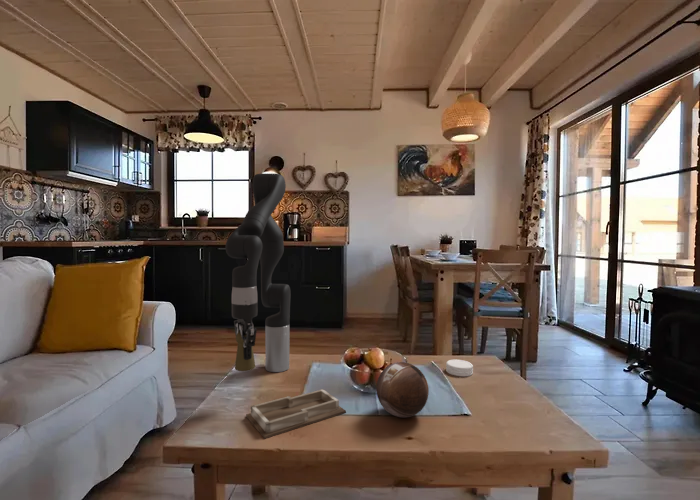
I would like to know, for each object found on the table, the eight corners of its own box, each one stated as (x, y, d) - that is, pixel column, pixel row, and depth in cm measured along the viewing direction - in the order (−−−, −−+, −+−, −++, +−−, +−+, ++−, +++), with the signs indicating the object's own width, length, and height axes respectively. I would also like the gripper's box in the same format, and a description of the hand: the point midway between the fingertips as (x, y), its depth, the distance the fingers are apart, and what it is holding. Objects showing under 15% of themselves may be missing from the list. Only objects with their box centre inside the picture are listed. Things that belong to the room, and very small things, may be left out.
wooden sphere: (366, 416, 105) (366, 365, 104) (392, 398, 116) (393, 352, 116) (413, 433, 95) (413, 377, 95) (436, 412, 107) (437, 362, 107)
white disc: (476, 377, 136) (476, 368, 135) (449, 377, 136) (450, 367, 135) (468, 367, 146) (468, 359, 145) (443, 367, 146) (443, 358, 145)
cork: (230, 369, 109) (230, 333, 109) (243, 362, 115) (243, 328, 114) (246, 372, 107) (246, 335, 106) (259, 365, 113) (259, 330, 112)
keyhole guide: (246, 416, 104) (246, 405, 104) (321, 395, 118) (321, 386, 118) (264, 438, 93) (264, 426, 92) (345, 412, 107) (345, 402, 107)
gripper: (225, 298, 114) (225, 352, 114) (239, 306, 102) (240, 366, 103) (248, 296, 118) (249, 348, 119) (265, 303, 106) (265, 361, 107)
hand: (245, 356), depth 111 cm, fingers closed on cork, 4 cm apart
